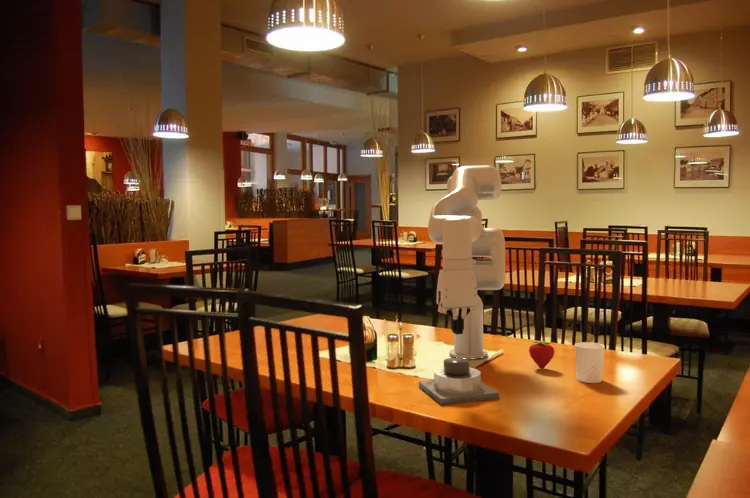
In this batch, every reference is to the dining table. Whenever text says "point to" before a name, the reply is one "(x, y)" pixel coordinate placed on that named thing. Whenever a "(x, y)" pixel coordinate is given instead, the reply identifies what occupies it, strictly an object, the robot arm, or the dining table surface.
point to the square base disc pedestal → (458, 387)
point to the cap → (456, 366)
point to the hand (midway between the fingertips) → (457, 333)
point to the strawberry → (541, 353)
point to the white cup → (589, 361)
